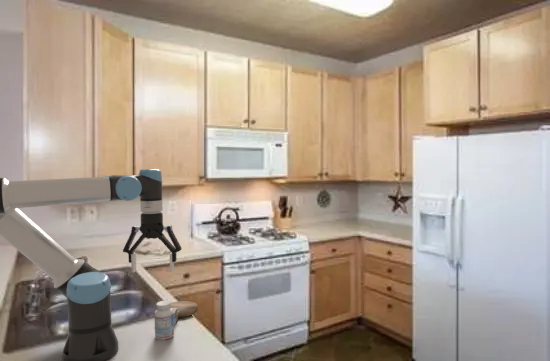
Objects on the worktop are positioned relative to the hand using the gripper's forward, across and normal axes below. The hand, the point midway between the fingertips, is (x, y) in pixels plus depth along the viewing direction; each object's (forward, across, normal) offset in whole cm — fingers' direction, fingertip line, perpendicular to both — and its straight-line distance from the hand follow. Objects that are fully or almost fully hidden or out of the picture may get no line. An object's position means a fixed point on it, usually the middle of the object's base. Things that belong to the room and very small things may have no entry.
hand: (152, 271), depth 136 cm
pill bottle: (+19, +7, -11) cm, 23 cm away
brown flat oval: (+18, +7, +7) cm, 21 cm away
